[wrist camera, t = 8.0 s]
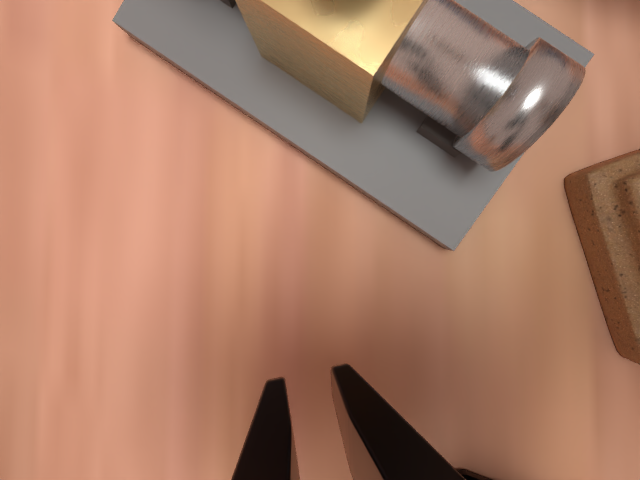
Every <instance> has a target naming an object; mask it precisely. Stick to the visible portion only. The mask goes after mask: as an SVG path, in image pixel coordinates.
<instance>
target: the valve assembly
mask: <svg viewBox="0 0 640 480" xmlns="http://www.w3.org/2000/svg"><path fill="white" fill-rule="evenodd" d="M112 21H113V22H115V23H116V24H117V25H118V26H119V27H120V28H121V29H122V30H124V31H125V32H126V33H127V34H128V35H129V36H131V37H132V38H134V39H135V40H137V41H138V42H140V43H141V44H143V45H144V46H145V47H147V48H148V49H150V50H151V51H153V52H154V53H156V54H157V55H159V56H160V57H162V58H163V59H165V60H166V61H168V62H169V63H171V64H172V65H174V66H175V67H177V68H178V69H180V70H181V71H183V72H184V73H185V74H187V75H188V76H190V77H191V78H193V79H194V80H196V81H197V82H199V83H200V84H202V85H203V86H205V87H206V88H208V89H209V90H211V91H212V92H214V93H215V94H217V95H218V96H220V97H221V98H223V99H224V100H226V101H227V102H228V103H230V104H231V105H233V106H234V107H236V108H237V109H239V110H240V111H242V112H243V113H245V114H246V115H248V116H249V117H251V118H252V119H254V120H255V121H257V122H258V123H260V124H261V125H263V126H264V127H266V128H267V129H268V130H270V131H271V132H273V133H274V134H276V135H277V136H279V137H280V138H282V139H283V140H285V141H286V142H288V143H289V144H291V145H292V146H294V147H295V148H297V149H298V150H300V151H301V152H303V153H304V154H306V155H307V156H309V157H310V158H311V159H313V160H314V161H316V162H317V163H319V164H320V165H322V166H323V167H325V168H326V169H328V170H329V171H331V172H332V173H334V174H335V175H337V176H338V177H340V178H341V179H343V180H344V181H346V182H347V183H349V184H350V185H351V186H353V187H354V188H356V189H357V190H359V191H360V192H362V193H363V194H365V195H366V196H368V197H369V198H371V199H372V200H374V201H375V202H377V203H378V204H380V205H381V206H383V207H384V208H386V209H387V210H389V211H390V212H391V213H393V214H394V215H396V216H397V217H399V218H400V219H402V220H403V221H405V222H406V223H408V224H409V225H411V226H412V227H414V228H415V229H417V230H418V231H420V232H421V233H423V234H424V235H426V236H427V237H429V238H430V239H432V240H433V241H434V242H436V243H437V244H439V245H440V246H442V247H443V248H445V249H448V250H452V251H454V250H455V249H456V247H457V246H458V245H459V243H460V242H461V240H462V239H463V238H464V236H465V235H466V233H467V232H468V231H469V229H470V228H471V226H472V225H473V224H474V222H475V221H476V219H477V218H478V217H479V215H480V214H481V212H482V211H483V210H484V208H485V207H486V205H487V204H488V203H489V201H490V200H491V198H492V197H493V196H494V194H495V193H496V191H497V190H498V189H499V187H500V186H501V184H502V183H503V182H504V180H505V179H506V177H507V176H508V175H509V173H510V172H511V170H512V169H513V168H514V166H515V165H516V163H517V162H518V161H519V159H520V158H521V156H522V155H523V154H524V152H525V151H526V150H527V149H528V148H529V147H530V146H531V145H532V144H534V143H535V142H536V141H537V140H538V139H539V138H540V137H541V136H542V135H543V133H544V132H545V131H546V130H547V129H548V128H549V127H550V126H551V125H552V124H553V122H554V121H555V120H556V119H557V118H558V116H559V115H560V114H561V113H562V112H563V110H564V109H565V108H566V106H567V105H568V104H569V102H570V101H571V99H572V98H573V96H574V95H575V93H576V92H577V90H578V88H579V87H580V85H581V83H582V81H583V78H584V75H585V67H586V65H587V64H588V62H589V61H590V60H591V58H592V57H593V55H594V54H593V53H591V52H590V51H588V50H587V49H585V48H584V47H582V46H581V45H579V44H578V43H576V42H575V41H573V40H572V39H570V38H569V37H567V36H566V35H564V34H563V33H561V32H560V31H558V30H557V29H555V28H554V27H552V26H551V25H549V24H548V23H546V22H545V21H543V20H542V19H540V18H539V17H537V16H536V15H534V14H533V13H531V12H530V11H528V10H527V9H525V8H524V7H522V6H521V5H519V4H518V3H516V2H515V1H513V0H124V1H123V3H122V5H121V6H120V8H119V10H118V11H117V13H116V15H115V17H114V18H113V20H112Z"/></svg>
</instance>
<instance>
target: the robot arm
mask: <svg viewBox="0 0 640 480" xmlns="http://www.w3.org/2000/svg"><path fill="white" fill-rule="evenodd" d="M331 385H332V396H333V401H334V405H335V410H336V414H337V418H338V422H339V427H340V431H341V435H342V439H343V444H344V448H345V452H346V456H347V460H348V464H349V468H350V471H351V474H352V477H353V480H491V479H488V478H485V477H483V476H480V475H477V474H474V473H472V472H469V471H466V470H458V471H457V470H455V469H454V468H453V467H452V466H451V465H450V464H449V463H448V462H447V461H446V460H445V459H444V458H443V457H442V456H441V455H440V454H439V453H438V452H437V451H436V450H435V449H434V448H433V447H432V446H431V445H430V444H429V443H428V442H427V441H426V440H425V439H424V438H423V437H422V436H421V435H420V434H419V433H418V432H417V431H416V430H415V429H414V428H413V427H412V426H411V425H410V424H409V423H408V422H407V421H406V420H405V419H404V418H403V417H402V416H401V415H400V414H399V413H398V412H397V411H396V410H395V409H394V408H393V407H392V406H391V405H390V404H389V403H388V402H387V401H386V400H385V399H384V398H383V397H381V396H380V395H379V394H378V393H377V392H376V391H375V390H374V389H373V388H372V387H371V386H370V385H369V384H368V383H367V382H366V381H365V380H364V379H363V378H362V377H361V376H360V375H359V374H358V373H357V372H356V371H355V370H354V369H353V368H352V367H351V366H350V365H349V364H341V365H336V366H333V367H331ZM231 480H300V477H299V469H298V462H297V455H296V448H295V442H294V435H293V428H292V422H291V415H290V408H289V401H288V395H287V388H286V382H285V378H284V377H279V378H274V379H269V380H267V381H266V383H265V386H264V388H263V391H262V394H261V397H260V400H259V403H258V405H257V408H256V411H255V414H254V417H253V420H252V422H251V425H250V428H249V431H248V434H247V437H246V439H245V442H244V445H243V448H242V451H241V454H240V456H239V459H238V462H237V465H236V468H235V471H234V473H233V476H232V479H231Z"/></svg>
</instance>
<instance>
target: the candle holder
mask: <svg viewBox="0 0 640 480" xmlns="http://www.w3.org/2000/svg"><path fill="white" fill-rule="evenodd" d="M564 186H565V189H566V193H567V197H568V201H569V205H570V209H571V212H572V215H573V219H574V222H575V225H576V228H577V231H578V234H579V237H580V240H581V244H582V247H583V250H584V253H585V256H586V259H587V262H588V266H589V269H590V272H591V275H592V278H593V281H594V284H595V288H596V291H597V294H598V297H599V300H600V303H601V306H602V310H603V313H604V316H605V319H606V322H607V325H608V328H609V331H610V334H611V336H612V339H613V341H614V344H615V346H616V349H617V351H618V352H619V354H620V355H621V356H622V357H625V358H627V359H629V360H631V361H633V362H636V363H638V364H640V149H639V150H636V151H633V152H630V153H627V154H624V155H621V156H618V157H615V158H612V159H609V160H606V161H603V162H600V163H598V164H595V165H592V166H590V167H587V168H584V169H582V170H579V171H577V172H574V173H572V174H570V175H568V176H567V177H566V178H565V184H564Z"/></svg>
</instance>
